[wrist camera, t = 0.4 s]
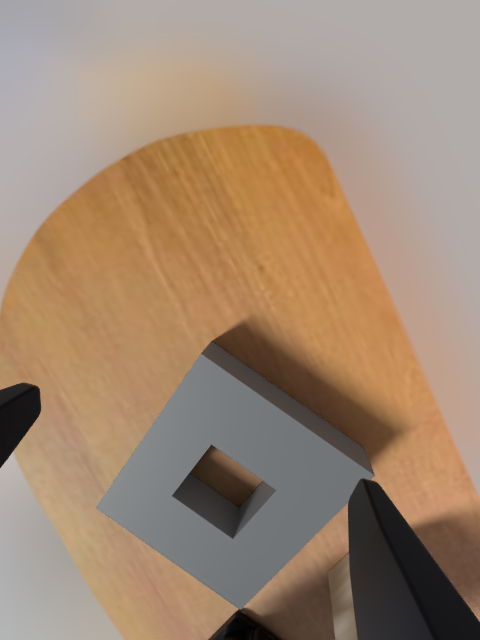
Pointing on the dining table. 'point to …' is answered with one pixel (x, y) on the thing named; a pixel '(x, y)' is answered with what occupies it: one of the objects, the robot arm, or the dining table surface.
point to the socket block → (250, 452)
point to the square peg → (342, 601)
